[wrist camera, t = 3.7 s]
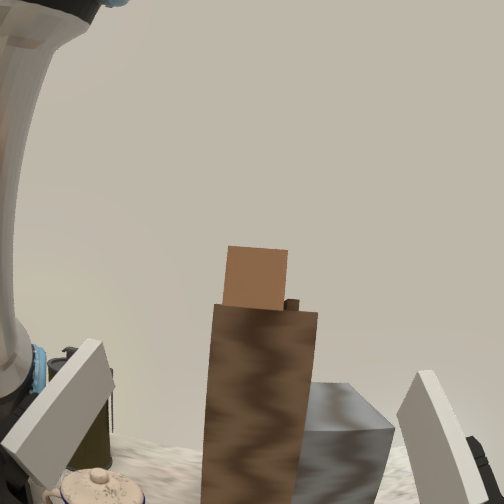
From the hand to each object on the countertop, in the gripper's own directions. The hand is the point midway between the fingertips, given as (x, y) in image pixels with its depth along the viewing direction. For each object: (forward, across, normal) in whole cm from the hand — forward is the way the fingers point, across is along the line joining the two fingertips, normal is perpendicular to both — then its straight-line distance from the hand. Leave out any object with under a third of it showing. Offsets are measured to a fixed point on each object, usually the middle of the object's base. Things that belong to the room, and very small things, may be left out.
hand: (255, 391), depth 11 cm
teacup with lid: (-5, -16, -28) cm, 33 cm away
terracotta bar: (+17, 0, -6) cm, 18 cm away
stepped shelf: (+8, +4, -35) cm, 36 cm away
